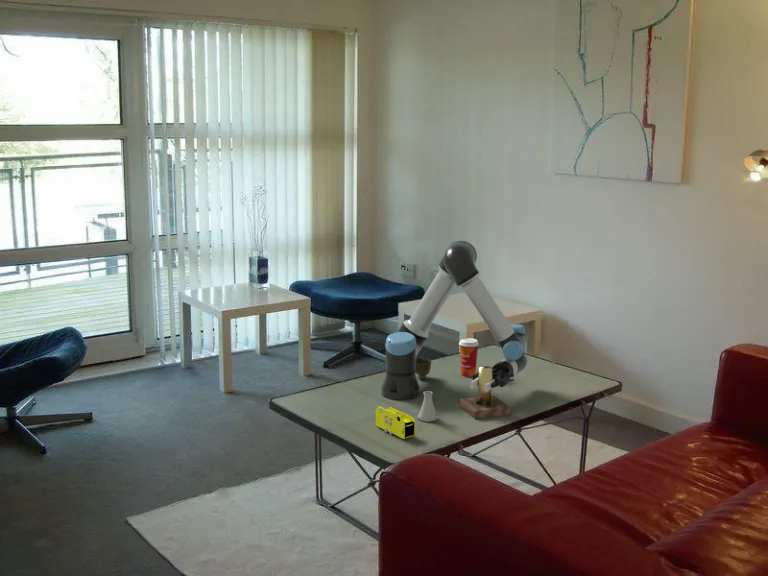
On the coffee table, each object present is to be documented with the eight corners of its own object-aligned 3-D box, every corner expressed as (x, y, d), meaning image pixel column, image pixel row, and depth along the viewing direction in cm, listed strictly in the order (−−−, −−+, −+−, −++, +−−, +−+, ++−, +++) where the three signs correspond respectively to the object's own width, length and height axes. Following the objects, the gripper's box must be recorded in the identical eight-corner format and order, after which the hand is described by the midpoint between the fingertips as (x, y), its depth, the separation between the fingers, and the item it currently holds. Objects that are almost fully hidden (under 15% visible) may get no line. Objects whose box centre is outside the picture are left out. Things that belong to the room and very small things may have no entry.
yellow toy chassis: (374, 427, 298) (374, 405, 296) (387, 424, 301) (387, 401, 300) (403, 441, 286) (403, 418, 284) (416, 437, 289) (416, 414, 287)
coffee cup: (454, 373, 358) (455, 339, 355) (471, 370, 361) (472, 337, 358) (464, 379, 351) (465, 344, 348) (481, 376, 354) (482, 342, 351)
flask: (413, 418, 306) (413, 392, 304) (427, 413, 311) (427, 387, 309) (428, 423, 301) (428, 397, 299) (441, 418, 306) (442, 392, 304)
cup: (432, 376, 354) (433, 358, 352) (429, 381, 347) (429, 363, 346) (415, 374, 356) (415, 356, 354) (411, 380, 349) (411, 361, 347)
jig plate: (475, 419, 306) (475, 411, 305) (459, 406, 319) (459, 398, 318) (509, 414, 310) (510, 407, 309) (493, 402, 323) (493, 394, 322)
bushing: (481, 406, 311) (482, 369, 308) (475, 401, 315) (476, 365, 312) (493, 404, 312) (494, 368, 309) (487, 400, 317) (488, 364, 314)
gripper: (526, 383, 323) (501, 400, 304) (483, 375, 332) (456, 392, 313) (526, 364, 322) (502, 380, 302) (483, 357, 331) (456, 372, 311)
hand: (479, 386), depth 308 cm, fingers closed on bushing, 5 cm apart
